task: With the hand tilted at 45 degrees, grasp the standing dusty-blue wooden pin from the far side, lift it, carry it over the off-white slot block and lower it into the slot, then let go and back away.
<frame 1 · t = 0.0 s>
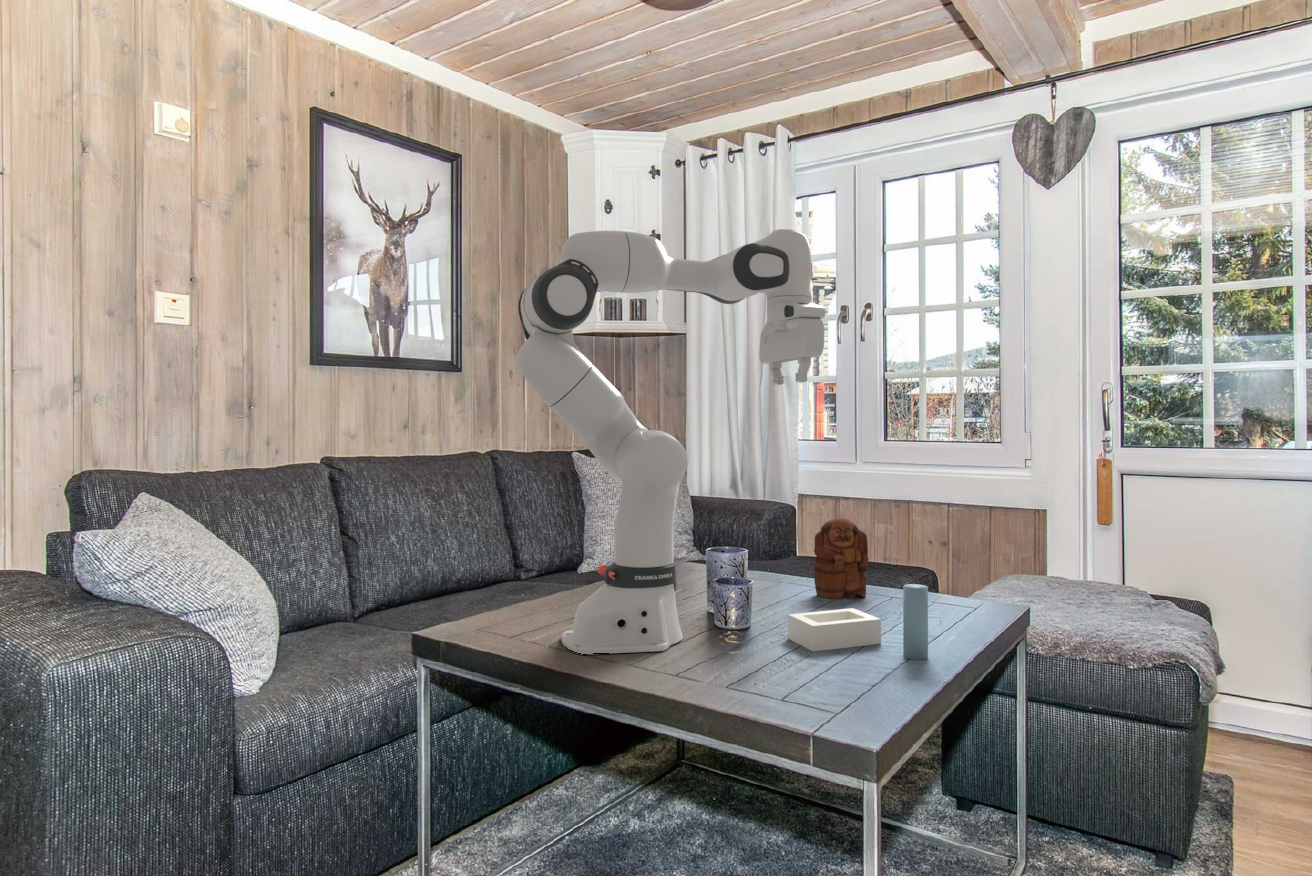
hand: (789, 383, 156), 48 cm above the table, tool pointing down, fingers open, 8 cm apart
slot block: (833, 640, 144), on the table
wooden figurine: (841, 597, 182), on the table
blue pin: (915, 656, 135), on the table
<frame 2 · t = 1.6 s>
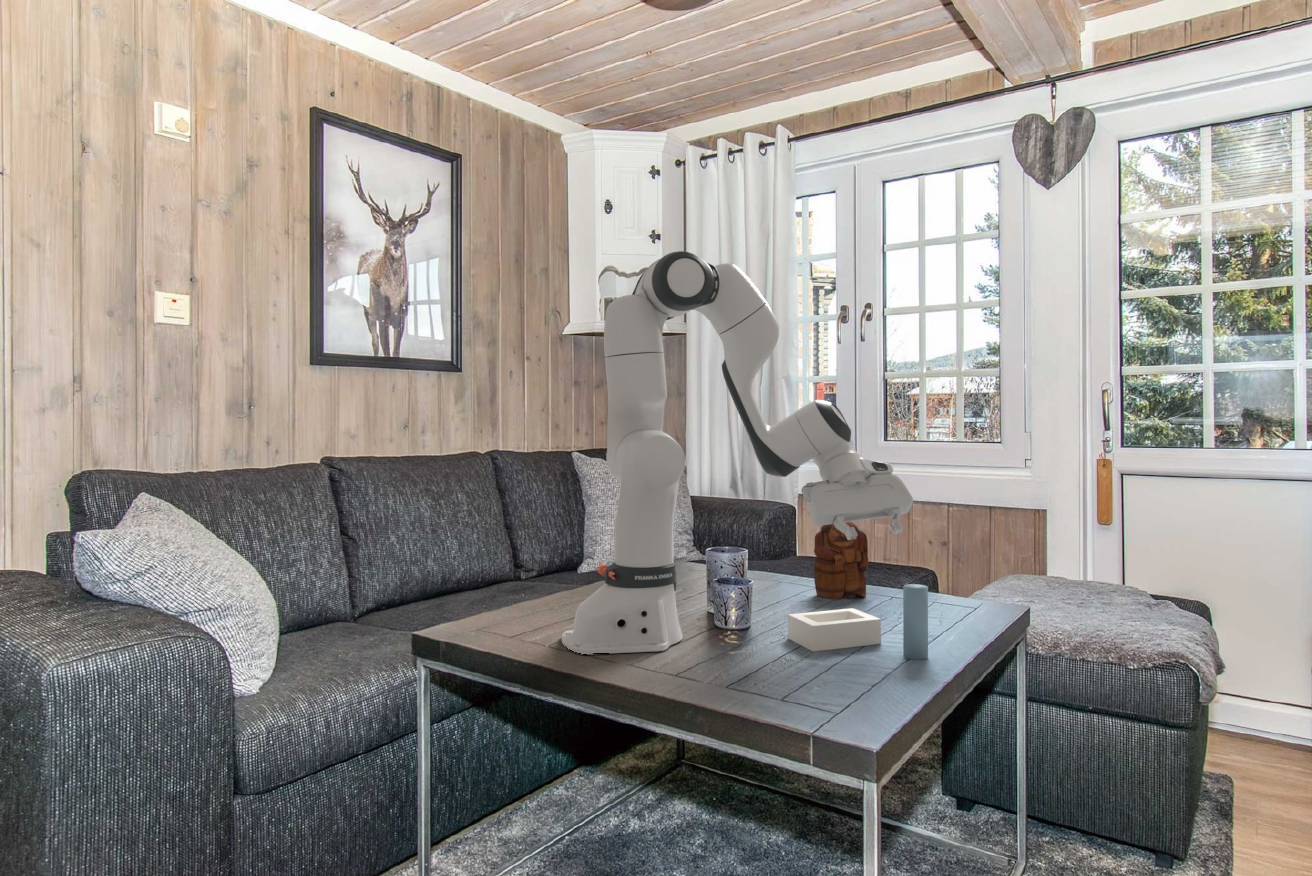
hand: (876, 534, 146), 19 cm above the table, tool tilted 45°, fingers open, 8 cm apart
nothing on the table moved.
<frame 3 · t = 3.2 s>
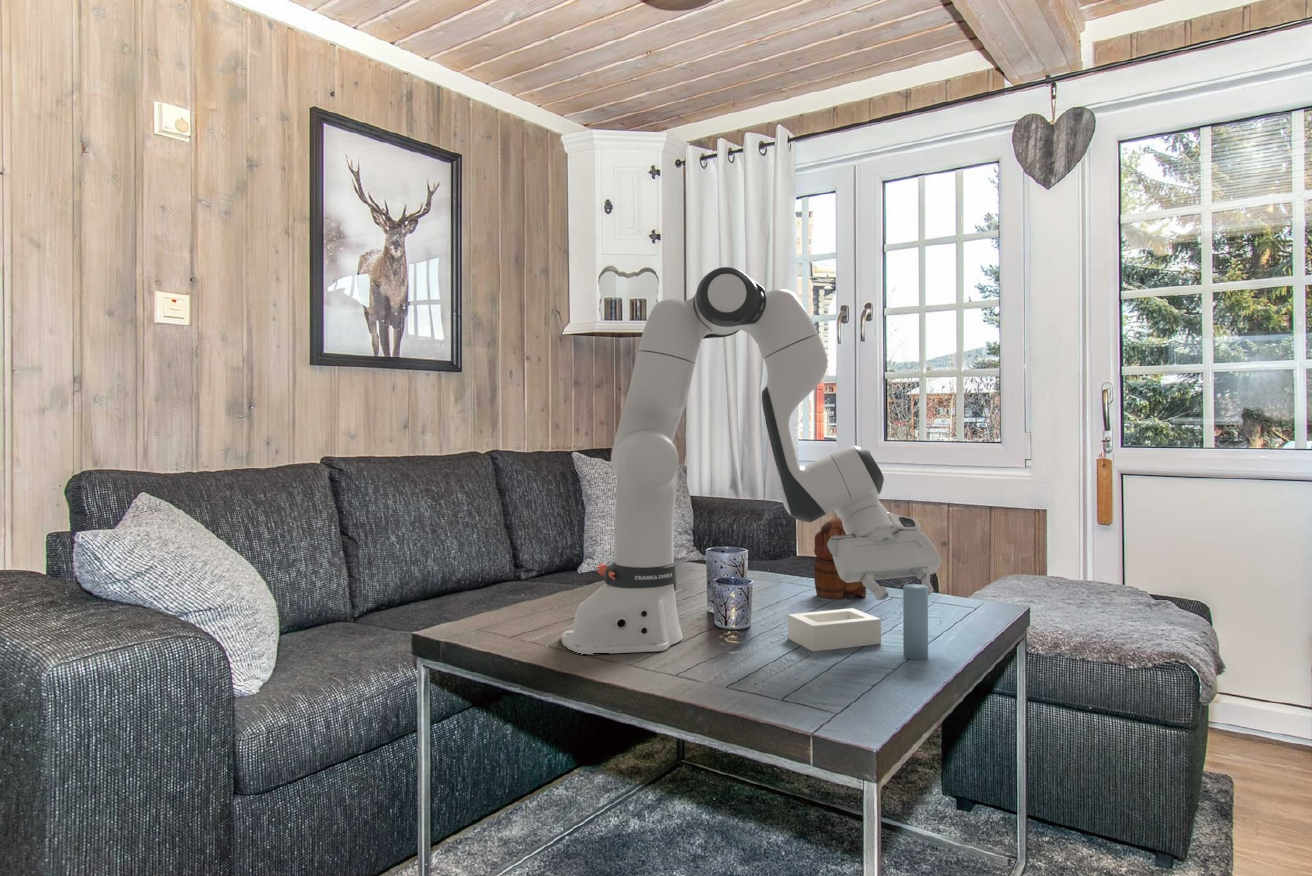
hand: (906, 595, 138), 10 cm above the table, tool tilted 45°, fingers open, 8 cm apart
nothing on the table moved.
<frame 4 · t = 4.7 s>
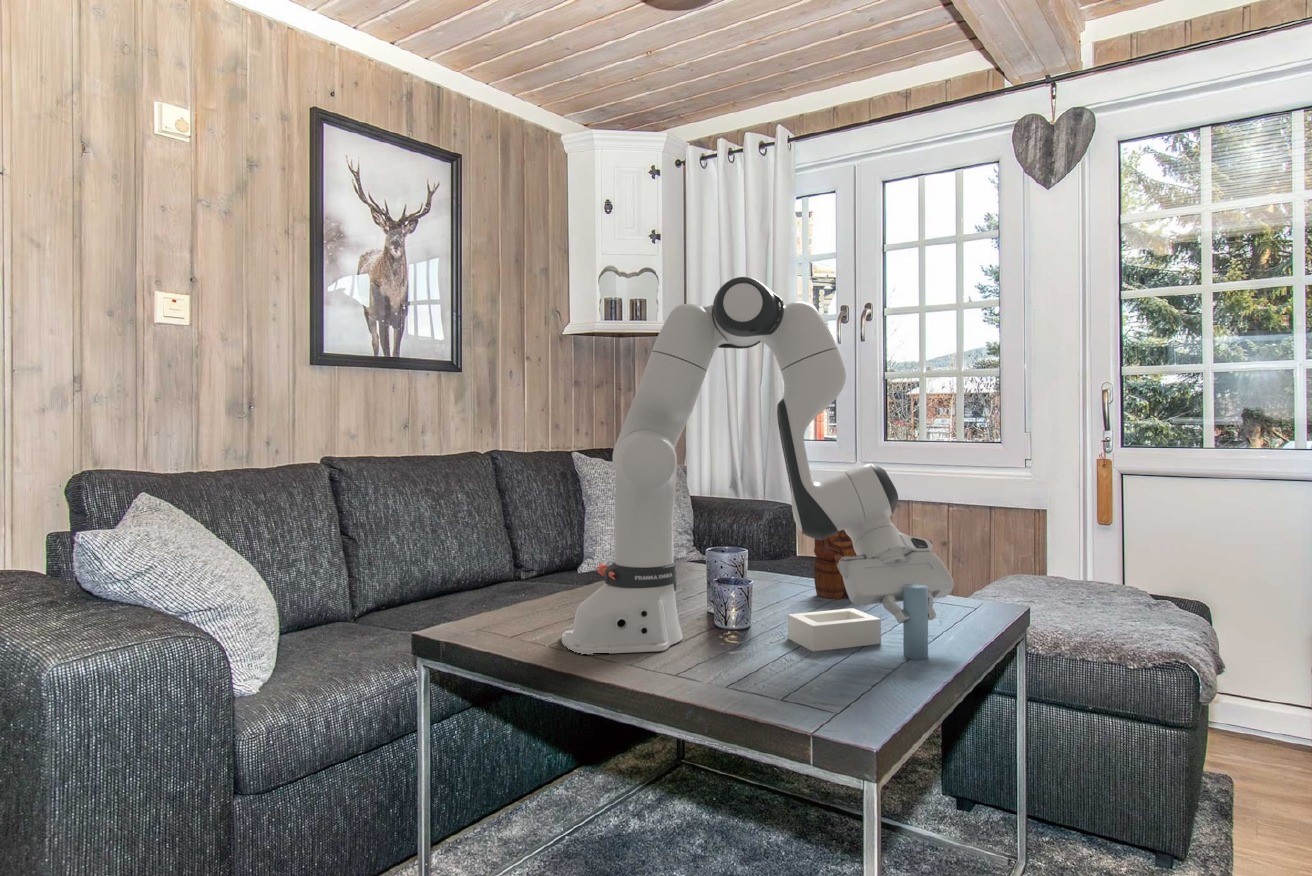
hand: (918, 619, 134), 6 cm above the table, tool tilted 45°, fingers closed on blue pin, 4 cm apart
blue pin: (915, 656, 135), on the table, touching gripper
everything else where it was.
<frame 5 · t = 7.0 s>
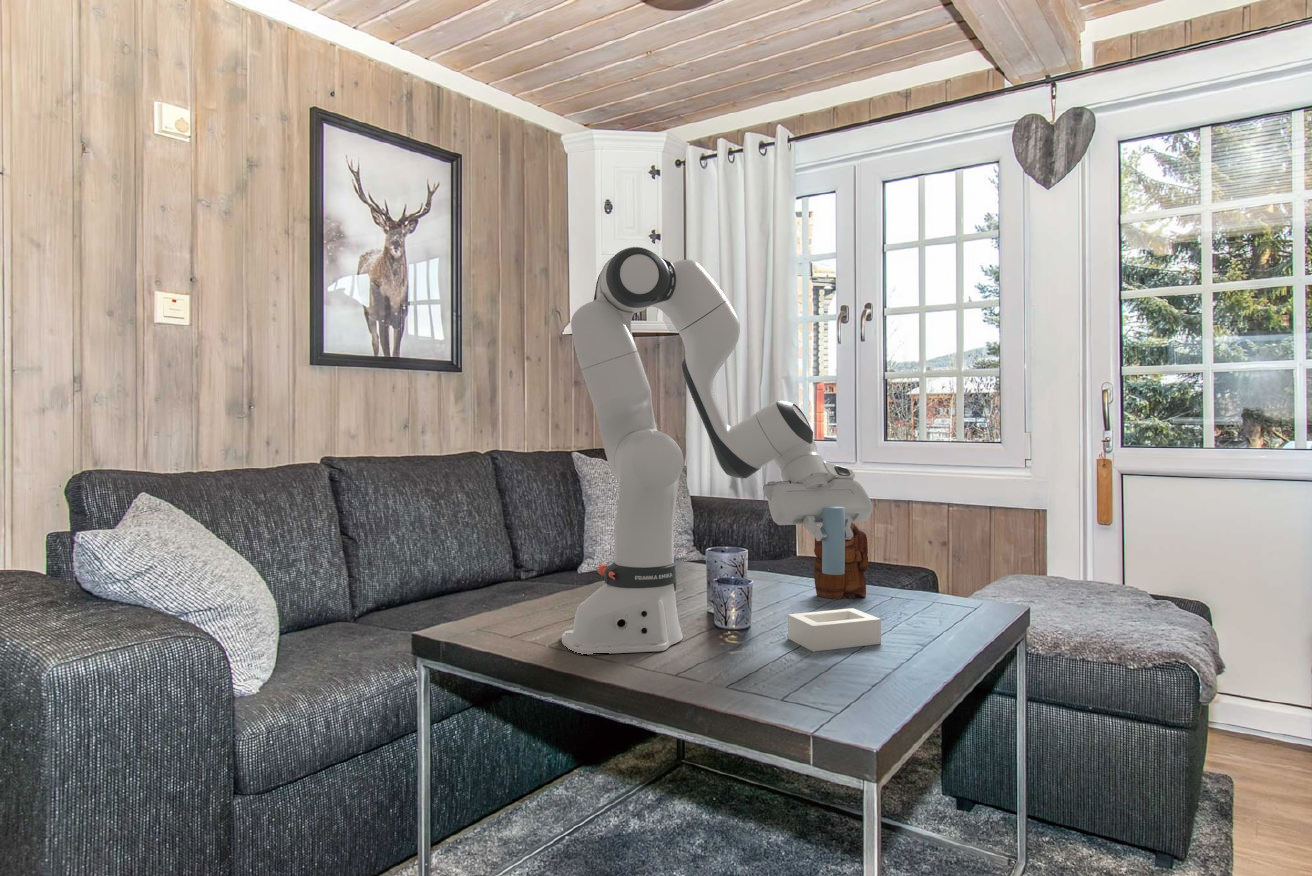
hand: (835, 538, 143), 19 cm above the table, tool tilted 45°, fingers closed on blue pin, 4 cm apart
blue pin: (833, 572, 144), point 13 cm above the table, touching gripper
everything else where it was.
when the fingers open (9 cm above the table, at t = 9.4 s): blue pin drops 2 cm, resting on slot block.
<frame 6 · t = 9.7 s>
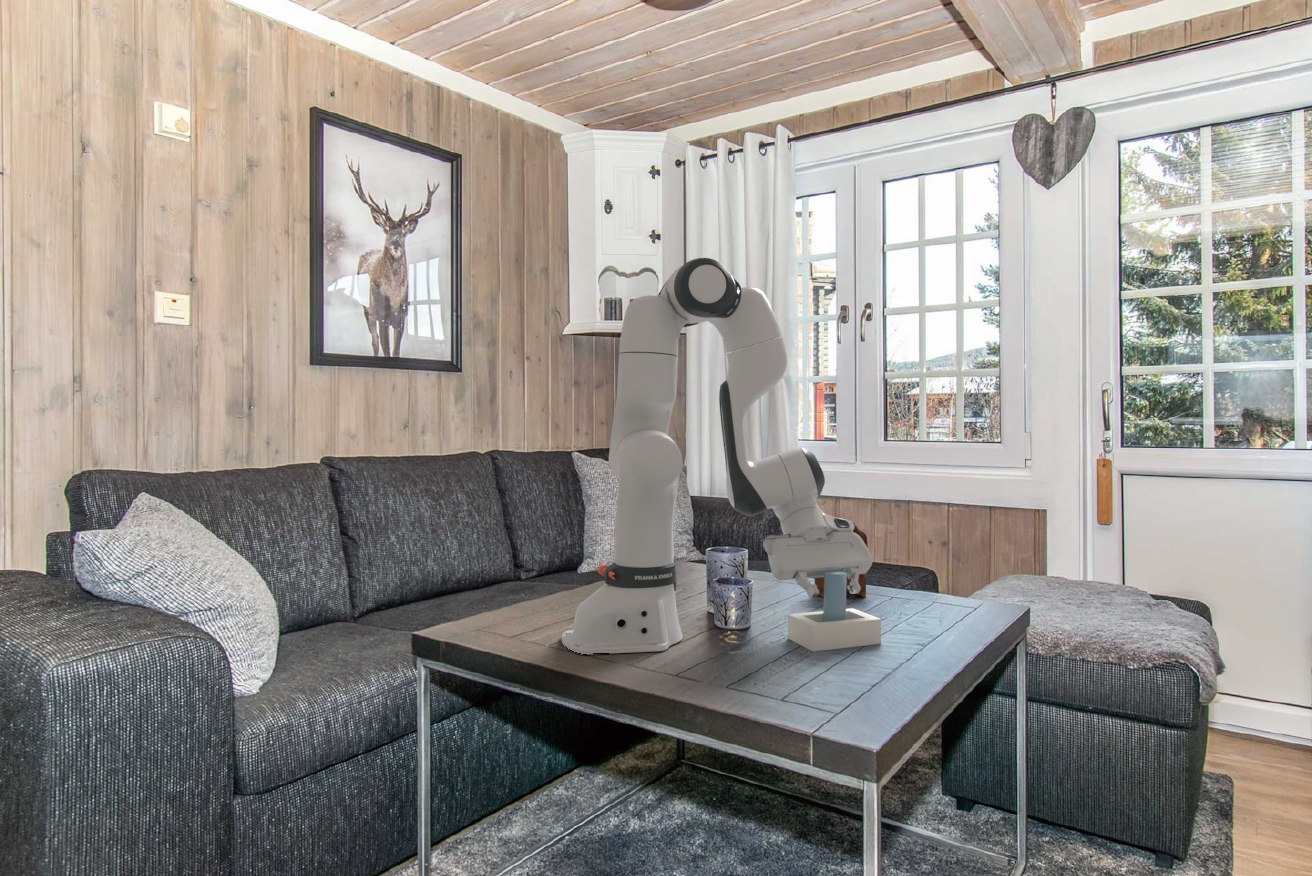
hand: (835, 593, 144), 9 cm above the table, tool tilted 45°, fingers open, 7 cm apart
blue pin: (833, 637, 144), point 1 cm above the table, touching slot block
everything else where it was.
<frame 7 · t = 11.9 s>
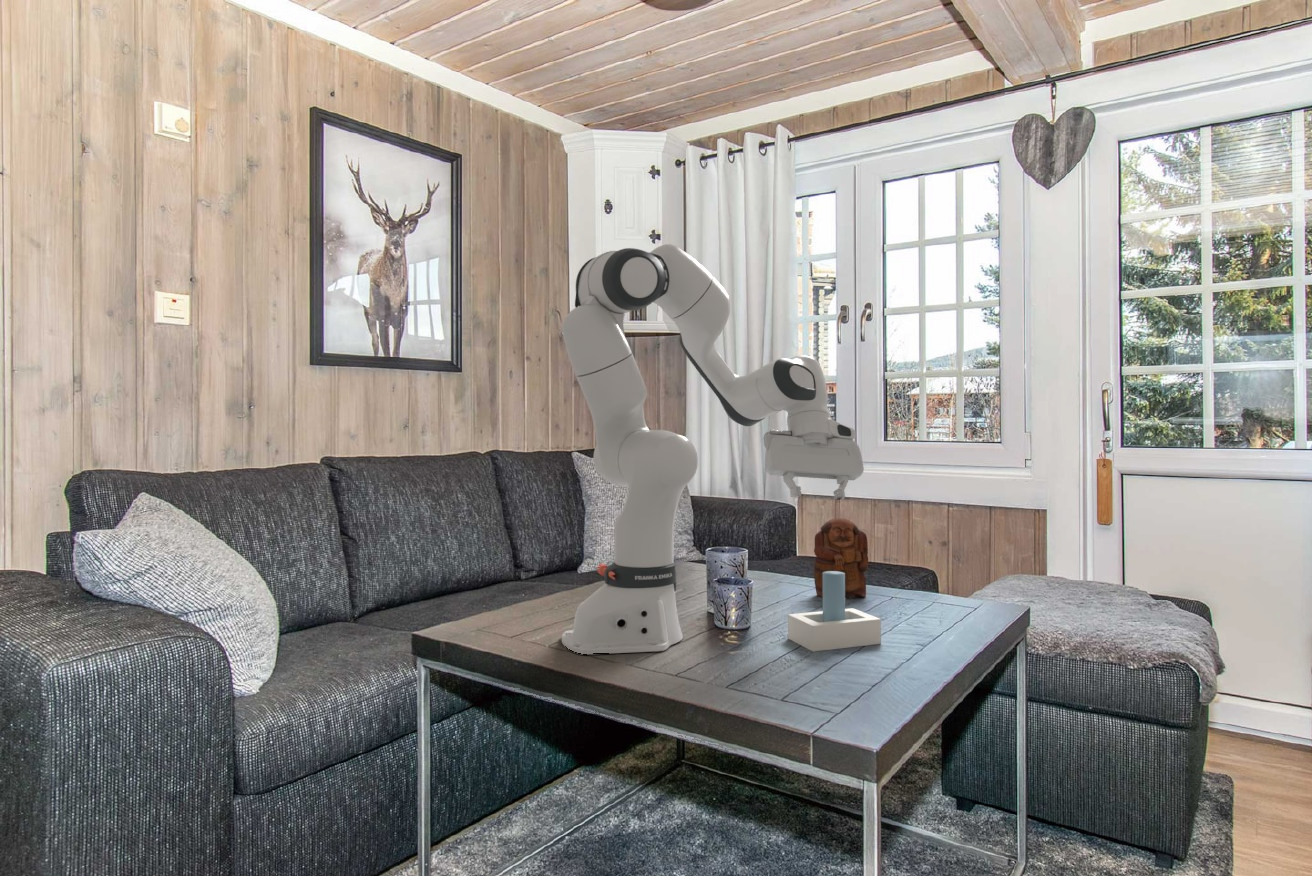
hand: (818, 497, 154), 25 cm above the table, tool tilted 25°, fingers open, 8 cm apart
nothing on the table moved.
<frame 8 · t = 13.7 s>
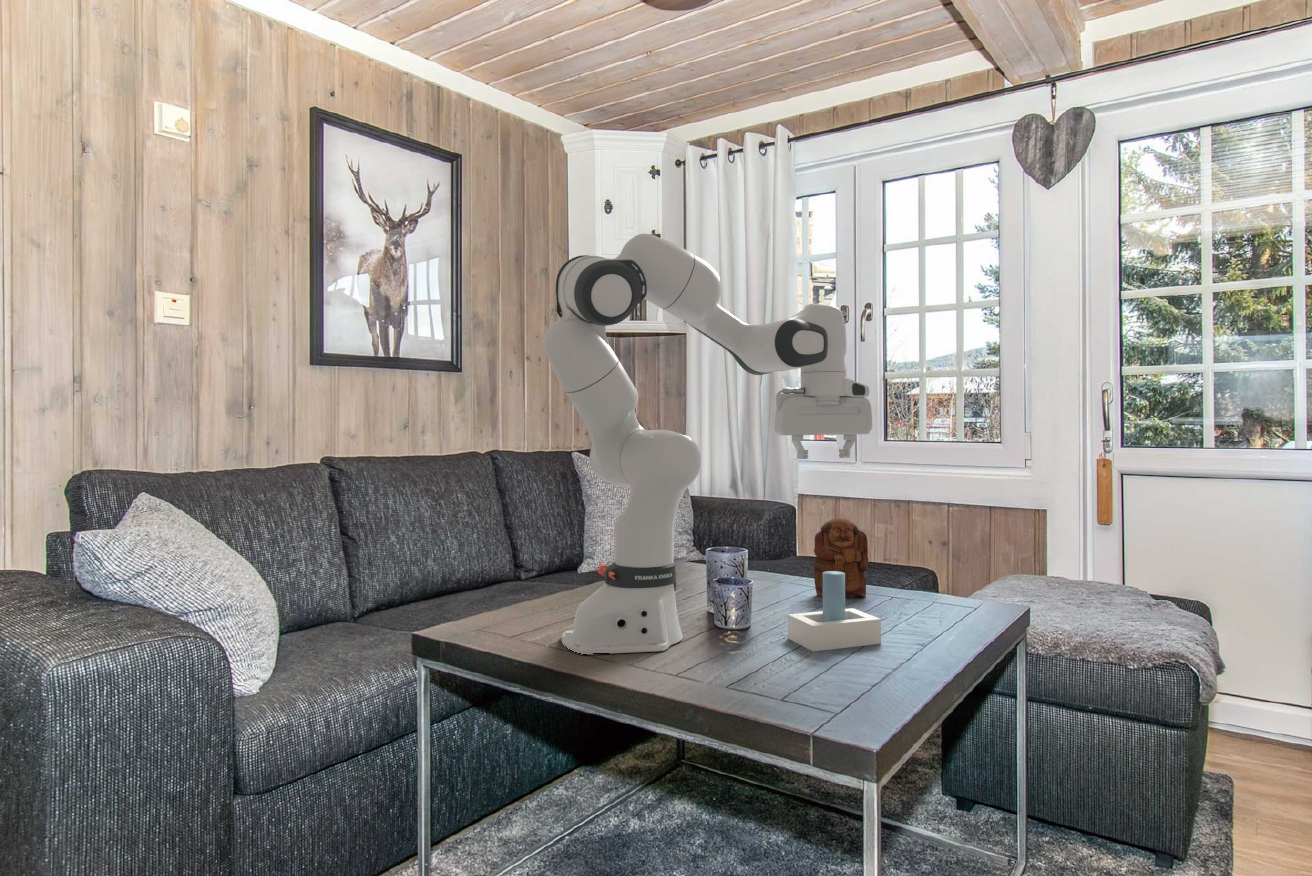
hand: (823, 458, 154), 33 cm above the table, tool pointing down, fingers open, 8 cm apart
nothing on the table moved.
at the end: blue pin inside the target area on the slot block (0.0 cm from its centre), point 0.5 cm above the slot block's base; blue pin tilted 0°; the gripper is holding nothing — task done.
